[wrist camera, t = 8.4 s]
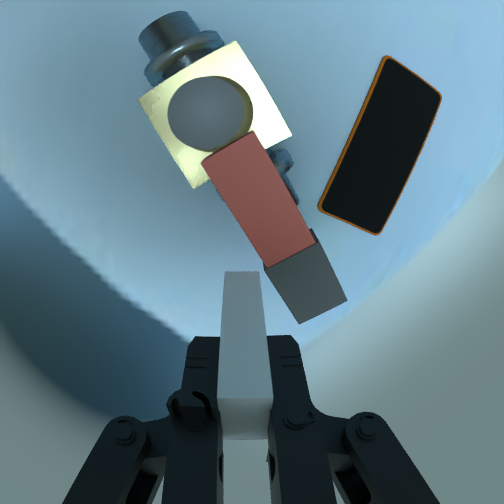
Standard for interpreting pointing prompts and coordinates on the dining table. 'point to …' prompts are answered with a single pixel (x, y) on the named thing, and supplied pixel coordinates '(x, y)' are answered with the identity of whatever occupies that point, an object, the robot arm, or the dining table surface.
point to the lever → (255, 195)
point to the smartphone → (381, 148)
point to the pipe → (214, 65)
